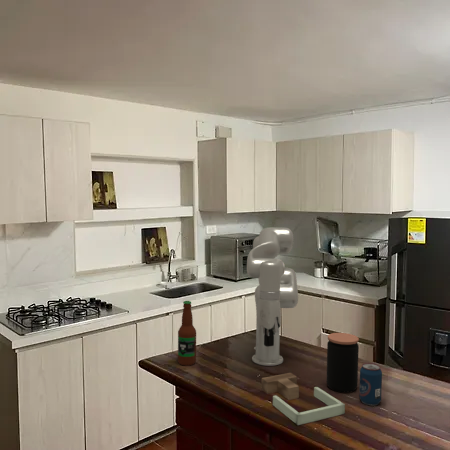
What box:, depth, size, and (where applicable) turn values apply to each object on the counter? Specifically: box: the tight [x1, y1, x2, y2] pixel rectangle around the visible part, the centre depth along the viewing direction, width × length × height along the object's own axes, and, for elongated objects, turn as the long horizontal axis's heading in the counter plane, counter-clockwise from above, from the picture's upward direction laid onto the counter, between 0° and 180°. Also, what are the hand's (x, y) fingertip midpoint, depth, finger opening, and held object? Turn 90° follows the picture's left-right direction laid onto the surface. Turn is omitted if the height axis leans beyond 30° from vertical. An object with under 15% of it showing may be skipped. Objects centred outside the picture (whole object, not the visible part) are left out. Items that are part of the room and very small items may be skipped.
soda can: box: [358, 362, 383, 406], centre depth 149 cm, size 7×7×12 cm
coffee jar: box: [326, 332, 360, 394], centre depth 161 cm, size 11×11×18 cm
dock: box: [272, 386, 346, 426], centre depth 144 cm, size 14×17×3 cm
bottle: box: [177, 300, 197, 367], centre depth 182 cm, size 7×7×25 cm
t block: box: [261, 372, 300, 401], centre depth 156 cm, size 11×12×4 cm
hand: (268, 345), depth 165 cm, fingers closed
